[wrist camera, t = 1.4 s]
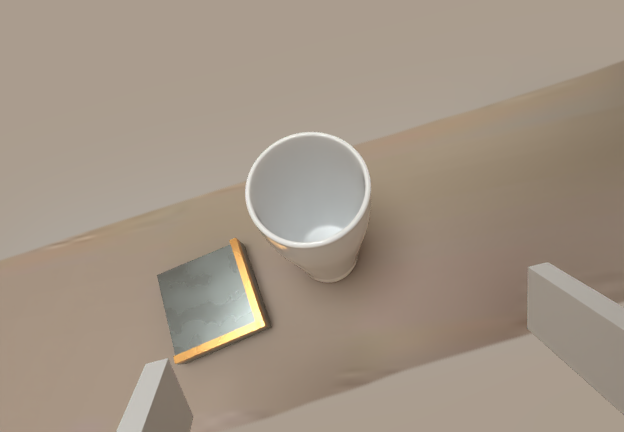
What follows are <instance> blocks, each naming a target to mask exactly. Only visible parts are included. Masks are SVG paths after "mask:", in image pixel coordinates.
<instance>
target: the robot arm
mask: <svg viewBox="0 0 624 432" xmlns="http://www.w3.org/2000/svg"><path fill="white" fill-rule="evenodd" d="M527 329H528V330H529V331H530V332H531V333H533V334H534V335H535V336H536V337H537V338H538V339H539V340H540V341H542V342H543V343H544V344H545V345H546V346H547V347H548V348H550V349H551V350H552V351H553V352H554V353H555V354H556V355H557V356H558V357H559V358H561V359H562V360H563V361H564V362H565V363H566V364H568V365H569V366H570V367H571V368H572V369H573V370H574V371H575V372H576V373H577V374H579V375H580V376H581V377H582V378H583V379H584V380H585V381H586V382H588V383H589V384H590V385H591V386H592V387H593V388H594V389H595V390H596V391H598V392H599V393H600V394H601V395H602V396H603V397H604V398H605V399H607V400H608V401H609V402H610V403H611V404H612V405H613V406H614V407H616V408H617V409H618V410H619V411H620V412H621V413H622V414H623V415H624V307H622V306H621V305H619V304H617V303H616V302H614V301H612V300H611V299H609V298H607V297H606V296H604V295H602V294H601V293H599V292H597V291H596V290H594V289H592V288H590V287H589V286H587V285H585V284H584V283H582V282H580V281H579V280H577V279H575V278H574V277H572V276H570V275H569V274H567V273H565V272H564V271H562V270H560V269H558V268H557V267H555V266H553V265H552V264H550V263H548V262H546V263H542V264H538V265H534V266H530V267H528V289H527ZM192 420H193V414H192V412H191V410H190V407H189V405H188V403H187V401H186V398H185V396H184V394H183V391H182V389H181V387H180V384H179V382H178V380H177V378H176V375H175V373H174V371H173V368H172V366H171V364H170V361H169V359H168V358H167V359H163V360H159V361H155V362H151V363H147V364H146V365H145V367H144V369H143V372H142V374H141V376H140V378H139V381H138V383H137V385H136V388H135V390H134V392H133V394H132V397H131V399H130V401H129V404H128V406H127V408H126V411H125V413H124V415H123V417H122V420H121V422H120V424H119V427H118V429H117V431H116V432H190V429H191V425H192Z"/></svg>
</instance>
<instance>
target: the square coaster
mask: <svg viewBox="0 0 624 432" xmlns="http://www.w3.org/2000/svg"><path fill="white" fill-rule="evenodd" d="M229 241H230V244H231V245H228V246H226V247H224V248H221V249H219V250H216V251H214V252H212V253H209V254H207V255H204V256H202V257H200V258H197V259H195V260H192V261H190V262H188V263H185V264H183V265H180V266H178V267H176V268H173V269H171V270H168V271H166V272H164V273H161V274H159V275H157V277H158V282H159V286H160V290H161V295H162V299H163V303H164V308H165V312H166V316H167V321H168V325H169V330H170V334H171V338H172V343H173V347H174V351H175V356H173V357H174V361H175V364H178V365H179V364H187V363H189V362H191V361H194V360H196V359H198V358H201V357H203V356H205V355H208V354H210V353H212V352H215V351H217V350H220V349H222V348H224V347H227V346H229V345H231V344H234V343H236V342H238V341H241V340H243V339H245V338H248V337H250V336H253V335H255V334H257V333H260V332H262V331H264V330H267V329H269V328H271V327H272V326H271V323H270V321H269V318H268V315H267V312H266V309H265V306H264V303H263V300H262V297H261V294H260V291H259V288H258V285H257V282H256V279H255V276H254V273H253V270H252V267H251V264H250V261H249V258H248V255H247V252H246V249H245V246H244V245H243V244H242V243H241V242H240V241H239V240H238V239H236V238H234V239H232V240H229Z"/></svg>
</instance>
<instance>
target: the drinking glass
mask: <svg viewBox="0 0 624 432" xmlns="http://www.w3.org/2000/svg"><path fill="white" fill-rule="evenodd" d="M245 199H246V205H247V209H248V212H249V214H250V217H251V218H252V220H253V222H254V223H255V225H256V226H257V228H258V229H259V231H260V232H261V234H262V235H263V237H264V238H265V239H266V240H267V242H268V243H269V244H270V245H271V246H272V247H273V248H274V249H275V250H276V251H277V252H278V253H279V254H280V255H282V256H283V257H284V258H285V259H287V260H288V261H290V262H291V263H293V264H294V265H296V266H297V267H299V268H300V269H302V270H303V271H305V273H306V274H307V275H308V276H310V277H311V278H313V279H315V280H317V281H320V282H325V283H331V282H336V281H339V280H341V279H343V278H345V277H346V276H347V275H349V274H350V273H351V271H352V270H353V269H354V267H355V265H356V262H357V259H358V253H359V250H360V247H361V245H362V242H363V240H364V237H365V234H366V232H367V228H368V224H369V220H370V213H371V180H370V174H369V171H368V168H367V166H366V164H365V162H364V160H363V158H362V157H361V155H360V154H359V153H358V152H357V151H356V150H355V149H354V148H353V147H352V146H351V145H350V144H348V143H347V142H345V141H344V140H342V139H340V138H338V137H336V136H333V135H330V134H326V133H321V132H303V133H297V134H293V135H290V136H287V137H285V138H282V139H281V140H278V141H276V142H275V143H273V144H272V145H270V146H269V147H268V148H267V149H266V150H265V151H263V152H262V154H261V155H260V156H259V157H258V159H257V160H256V161H255V163H254V164H253V166H252V168H251V170H250V172H249V175H248V178H247V181H246V188H245Z"/></svg>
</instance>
